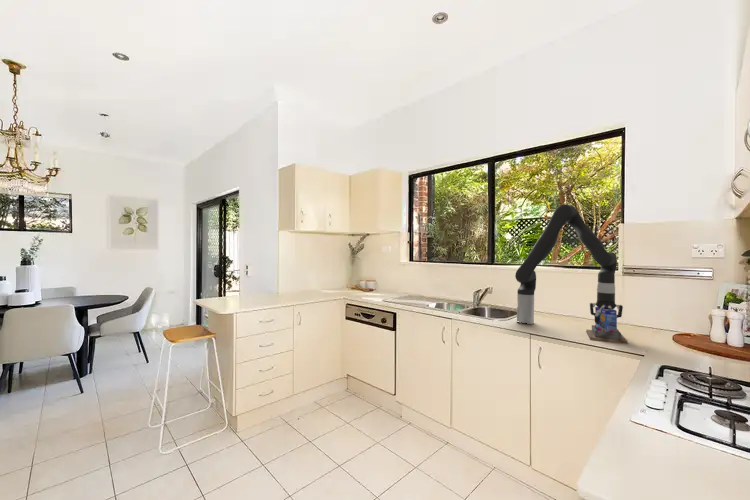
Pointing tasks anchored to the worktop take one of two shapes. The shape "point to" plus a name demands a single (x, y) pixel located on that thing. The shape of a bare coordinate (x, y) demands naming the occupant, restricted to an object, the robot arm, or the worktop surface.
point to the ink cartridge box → (607, 320)
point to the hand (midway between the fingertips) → (605, 324)
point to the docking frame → (606, 336)
